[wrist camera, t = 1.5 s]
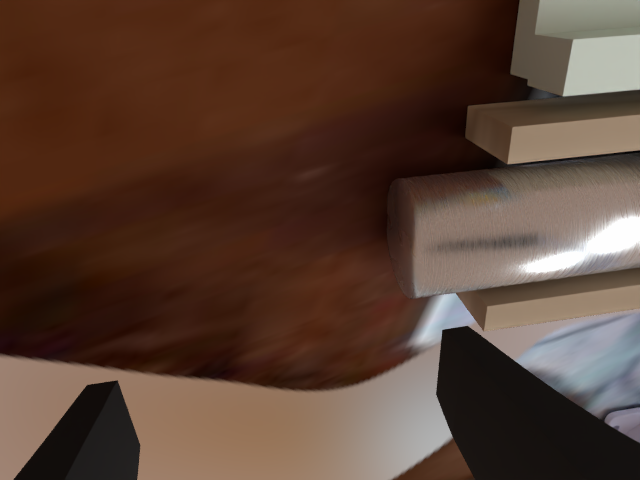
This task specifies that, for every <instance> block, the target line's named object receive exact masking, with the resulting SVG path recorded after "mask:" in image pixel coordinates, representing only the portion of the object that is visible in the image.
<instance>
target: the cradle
mask: <svg viewBox="0 0 640 480" xmlns="http://www.w3.org/2000/svg"><path fill="white" fill-rule="evenodd" d="M510 74H512V75H515V76H518V77H522V78H525V79H528V83H527V85H528V86H531V87H534V88H537V89H540V90H544V91H547V92H550V93H553V94H556V95H560V96H573V95H584V94H595V93H606V92H617V91H628V90H639V89H640V0H520V2H519V9H518V17H517V25H516V32H515V40H514V48H513V55H512V63H511V71H510Z"/></svg>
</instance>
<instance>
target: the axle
mask: <svg viewBox="0 0 640 480" xmlns="http://www.w3.org/2000/svg"><path fill="white" fill-rule="evenodd" d="M387 242H388V249H389V254H390V259H391V263H392V267H393V271H394V274H395V277H396V280H397V282H398V284H399V287H400V288H401V290H402V292H403V293H404V294H405V295H406V297H408V298H410V299H413V298H421V297H428V296H435V295H443V294H450V293H457V292H464V291H472V290H479V289H486V288H493V287H501V286H508V285H515V284H522V283H530V282H537V281H544V280H552V279H559V278H566V277H573V276H581V275H588V274H595V273H602V272H610V271H617V270H624V269H631V268H639V267H640V153H632V154H622V155H613V156H604V157H595V158H585V159H576V160H567V161H557V162H548V163H539V164H530V165H520V166H511V167H502V168H493V169H483V170H474V171H465V172H455V173H446V174H437V175H428V176H418V177H409V178H400V179H395V180H394V181H393V182H392V183H391V185H390V188H389V191H388V195H387Z"/></svg>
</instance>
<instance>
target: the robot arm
mask: <svg viewBox="0 0 640 480" xmlns="http://www.w3.org/2000/svg"><path fill="white" fill-rule="evenodd" d="M436 395H437V397H438V400H439V403H440V406H441V408H442V411H443V414H444V416H445V419H446V421H447V424H448V426H449V429H450V431H451V434H452V436H453V438H454V440H455V442H456V444H457V446H458V448H459V450H460V452H461V453H462V455H463V457H464V459H465V461H466V463H467V465H468V467H469V469H470V471H471V472H472V474H473V476H474V478H475V480H640V407H638V408H632V409H626V410H620V411H615V412H611V413H610V414H608V415H607V416H606V418H605V421H604V422H603V421H602V420H600V419H598V418H597V417H595V416H594V415H592V414H591V413H589V412H587V411H586V410H584V409H583V408H581V407H580V406H578V405H577V404H575V403H574V402H572V401H570V400H569V399H567V398H566V397H565V396H563V395H562V394H560V393H559V392H557V391H556V390H554V389H553V388H551V387H550V386H549V385H547V384H546V383H544V382H543V381H541V380H540V379H539V378H537V377H536V376H534V375H533V374H532V373H530V372H529V371H528V370H526V369H525V368H523V367H522V366H521V365H519V364H518V363H517V362H515V361H514V360H513V359H511V358H510V357H509V356H507V355H506V354H505V353H503V352H502V351H500V350H499V349H498V348H497V347H495V346H494V345H493V344H491V343H490V342H488V341H487V340H486V339H485V338H483V337H482V336H481V335H479V334H478V333H477V332H475V331H474V330H472V329H471V328H470V327H468V326H464V327H458V328H451V329H445V330H442V340H441V350H440V361H439V371H438V381H437V392H436ZM139 453H140V443H139V440H138V438H137V435H136V432H135V429H134V426H133V423H132V421H131V418H130V415H129V412H128V409H127V406H126V404H125V401H124V398H123V395H122V392H121V389H120V386H119V384H118V381H111V382H104V383H98V384H91V385H87V386H86V387H85V389H84V390H83V391H82V392H81V394H80V395H79V396H78V397H77V399H76V400H75V401H74V403H73V404H72V405H71V407H70V408H69V409H68V411H67V412H66V413H65V414H64V416H63V417H62V418H61V420H60V421H59V422H58V424H57V425H56V426H55V428H54V429H53V430H52V431H51V433H50V434H49V436H48V437H47V438H46V439H45V441H44V442H43V443H42V444H41V446H40V447H39V448H38V449H37V451H36V452H35V453H34V455H33V456H32V457H31V459H30V460H29V461H28V462H27V463H26V465H25V466H24V467H23V468H22V470H21V471H20V472H19V473H18V475H17V476H16V477H15V478H14V480H137V476H138V465H139Z"/></svg>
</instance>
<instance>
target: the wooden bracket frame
mask: <svg viewBox="0 0 640 480" xmlns="http://www.w3.org/2000/svg"><path fill="white" fill-rule="evenodd" d="M465 138H466V139H468V140H469V141H471V142H473V143H474V144H476V145H477V146H479V147H481V148H482V149H484V150H485V151H487V152H489V153H490V154H492V155H493V156H495V157H497V158H498V159H500V160H501V161H503V162H505V163H506V164H515V163H524V162H534V161H543V160H552V159H562V158H571V157H580V156H590V155H599V154H608V153H617V152H627V151H636V150H640V90H634V91H623V92H612V93H601V94H590V95H579V96H569V97H558V98H547V99H536V100H525V101H514V102H503V103H492V104H481V105H471V106H468V111H467V122H466V133H465ZM456 294H457V296H458V297H459V298H460V300H461V301H462V302H463V304H464V305H465V306H466V308H467V309H468V311H469V312H470V313H471V315H472V316H473V317H474V319H475V320H476V321H477V323H478V324H479V325H480V327H481V328H482V330H483V331H491V330H498V329H504V328H511V327H518V326H525V325H531V324H538V323H544V322H551V321H558V320H565V319H572V318H579V317H585V316H592V315H598V314H605V313H612V312H619V311H625V310H632V309H639V308H640V267H639V268H631V269H624V270H617V271H610V272H602V273H595V274H588V275H581V276H573V277H566V278H559V279H552V280H544V281H537V282H530V283H522V284H515V285H508V286H501V287H493V288H486V289H479V290H472V291H464V292H457V293H456Z"/></svg>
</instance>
